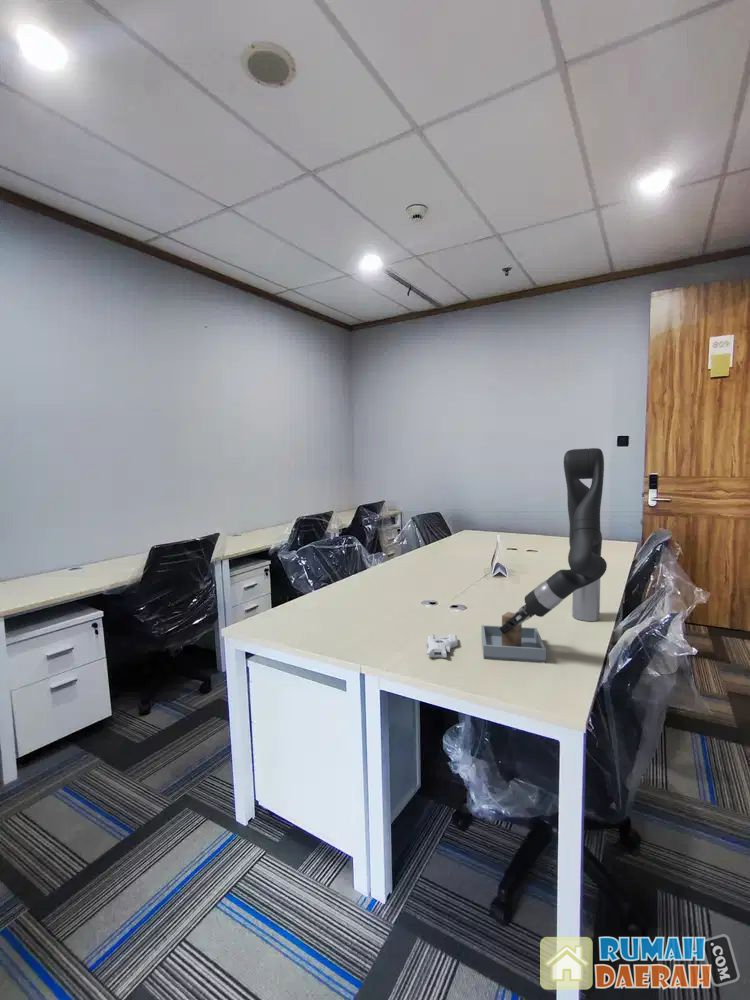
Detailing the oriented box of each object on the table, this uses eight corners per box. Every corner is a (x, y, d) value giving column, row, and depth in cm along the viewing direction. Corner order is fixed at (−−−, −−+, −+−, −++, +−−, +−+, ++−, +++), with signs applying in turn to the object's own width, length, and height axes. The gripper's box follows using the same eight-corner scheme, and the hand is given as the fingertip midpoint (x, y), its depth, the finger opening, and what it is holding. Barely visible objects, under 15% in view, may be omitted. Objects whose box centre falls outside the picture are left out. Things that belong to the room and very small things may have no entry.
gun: (459, 649, 135) (425, 649, 136) (459, 661, 135) (425, 660, 136) (456, 630, 153) (426, 630, 154) (456, 641, 153) (426, 640, 154)
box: (481, 636, 154) (481, 625, 153) (536, 639, 150) (536, 627, 150) (483, 658, 136) (483, 645, 136) (545, 662, 133) (545, 649, 133)
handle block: (501, 646, 143) (502, 615, 142) (507, 642, 146) (507, 611, 146) (515, 650, 140) (516, 618, 139) (521, 645, 143) (521, 614, 143)
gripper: (544, 582, 143) (507, 612, 151) (526, 593, 131) (487, 625, 140) (561, 602, 140) (522, 631, 148) (545, 614, 128) (504, 646, 137)
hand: (506, 628), depth 144 cm, fingers open, 5 cm apart
